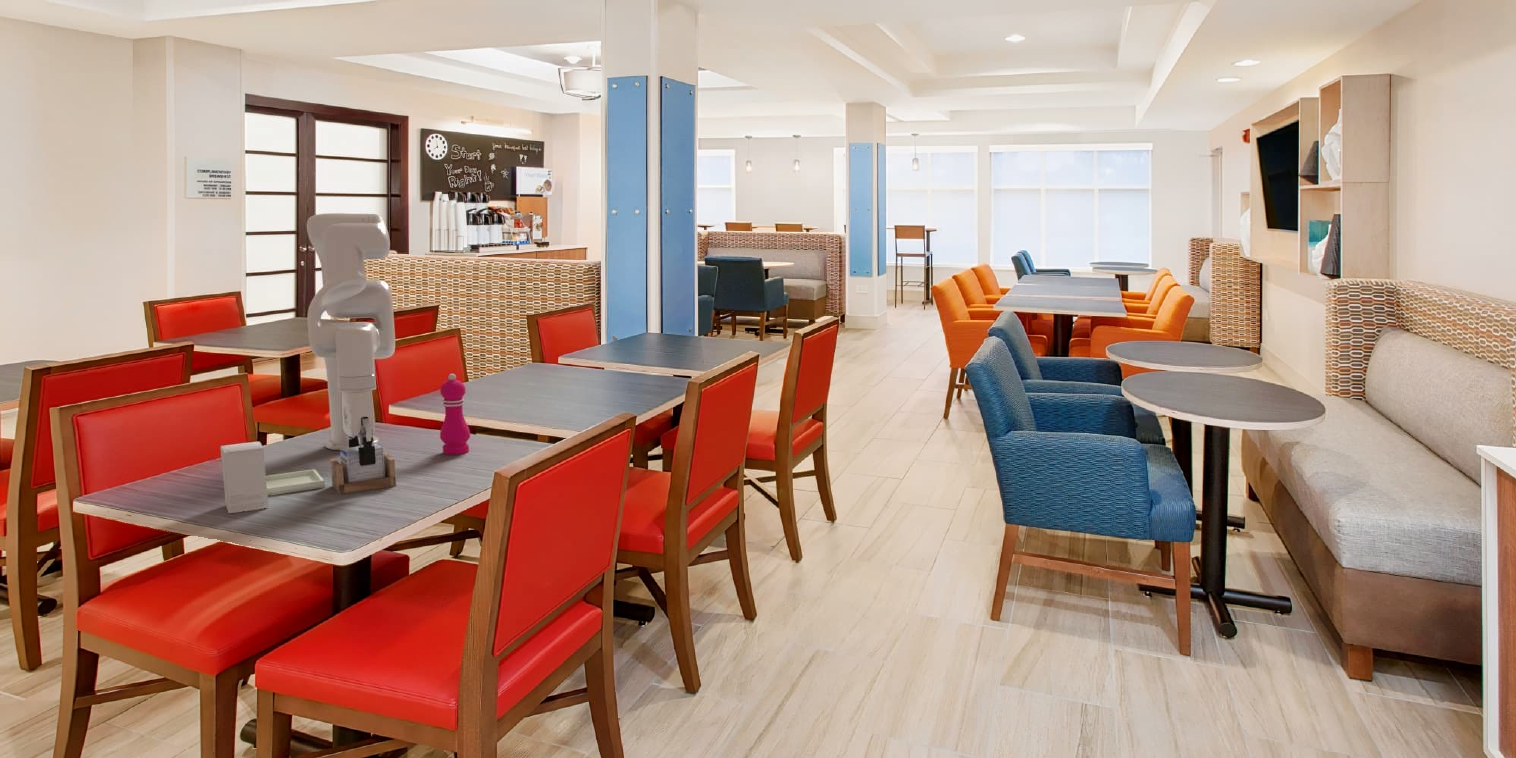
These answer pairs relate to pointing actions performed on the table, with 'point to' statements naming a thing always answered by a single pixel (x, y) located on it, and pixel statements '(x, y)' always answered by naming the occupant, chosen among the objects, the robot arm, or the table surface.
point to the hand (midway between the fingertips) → (362, 460)
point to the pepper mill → (454, 418)
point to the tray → (294, 482)
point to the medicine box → (355, 470)
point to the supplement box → (244, 477)
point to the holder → (365, 484)
